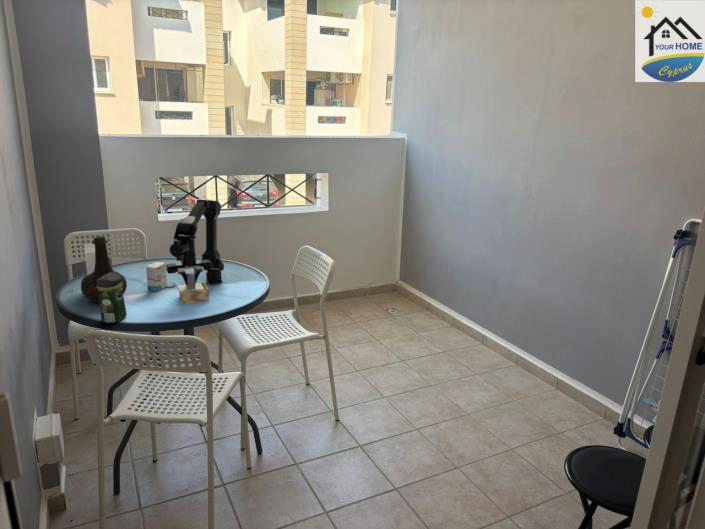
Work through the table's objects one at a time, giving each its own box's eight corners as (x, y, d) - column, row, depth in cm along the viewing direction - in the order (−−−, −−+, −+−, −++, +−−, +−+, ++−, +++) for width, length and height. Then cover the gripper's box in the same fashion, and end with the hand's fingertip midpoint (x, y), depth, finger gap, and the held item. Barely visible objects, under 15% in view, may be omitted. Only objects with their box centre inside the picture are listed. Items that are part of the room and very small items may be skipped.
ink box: (157, 292, 234) (155, 267, 231) (147, 291, 235) (145, 266, 231) (167, 286, 242) (165, 262, 239) (158, 285, 243) (155, 261, 239)
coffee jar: (111, 313, 209) (105, 270, 204) (129, 315, 209) (125, 271, 203) (97, 323, 200) (91, 278, 195) (117, 324, 199) (111, 279, 194)
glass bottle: (79, 297, 225) (70, 235, 217) (122, 289, 236) (115, 230, 228) (87, 310, 212) (78, 244, 204) (133, 301, 222) (126, 239, 214)
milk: (104, 291, 233) (99, 244, 226) (89, 293, 231) (83, 245, 224) (104, 287, 238) (99, 241, 232) (90, 288, 236) (84, 242, 229)
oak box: (204, 293, 235) (203, 282, 233) (209, 300, 226) (208, 289, 225) (179, 296, 230) (178, 285, 228) (183, 304, 221) (182, 292, 220)
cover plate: (200, 284, 232) (199, 271, 230) (204, 290, 225) (203, 276, 223) (177, 287, 227) (176, 273, 225) (180, 293, 221) (179, 279, 219)
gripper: (206, 244, 232) (208, 277, 237) (162, 248, 224) (165, 282, 228) (211, 250, 222) (213, 284, 227) (166, 254, 214) (169, 290, 219)
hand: (190, 285), depth 226 cm, fingers closed on cover plate, 3 cm apart
